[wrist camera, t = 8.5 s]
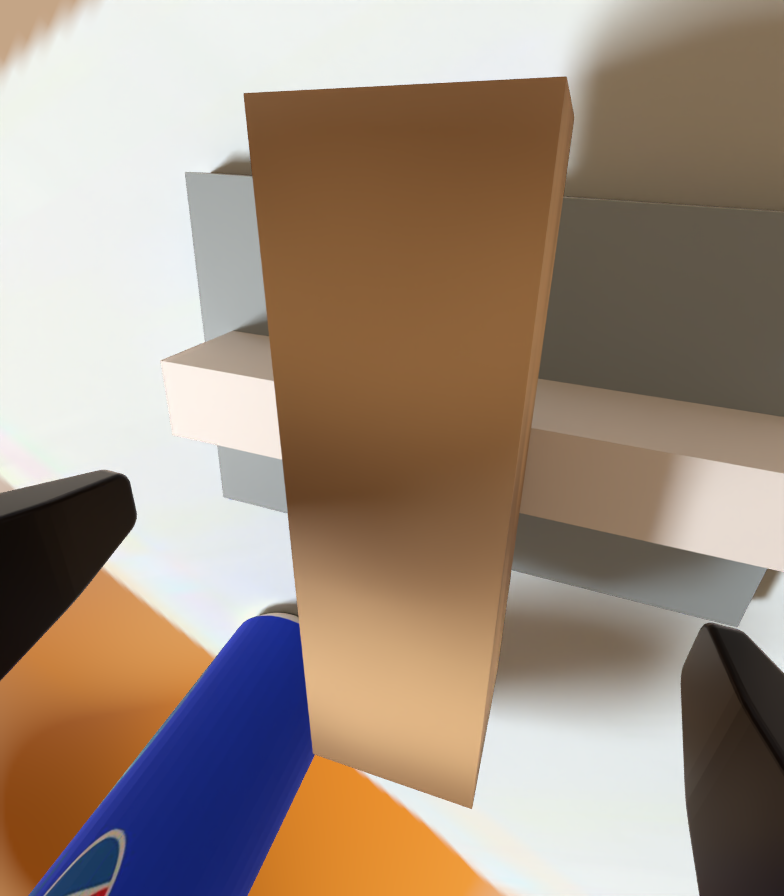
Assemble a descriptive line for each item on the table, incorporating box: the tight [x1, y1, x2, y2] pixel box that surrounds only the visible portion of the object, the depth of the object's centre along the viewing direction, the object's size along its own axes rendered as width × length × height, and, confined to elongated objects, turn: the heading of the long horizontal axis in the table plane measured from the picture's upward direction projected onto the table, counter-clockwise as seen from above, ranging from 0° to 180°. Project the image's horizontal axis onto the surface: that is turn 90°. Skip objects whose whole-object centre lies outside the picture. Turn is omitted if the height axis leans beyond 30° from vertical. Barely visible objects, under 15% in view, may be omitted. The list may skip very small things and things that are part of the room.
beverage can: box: [29, 613, 315, 896], centre depth 16 cm, size 5×5×15 cm
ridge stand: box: [161, 172, 784, 627], centre depth 13 cm, size 10×16×4 cm, turn 86°
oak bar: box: [244, 77, 574, 809], centre depth 10 cm, size 12×4×4 cm, turn 179°
